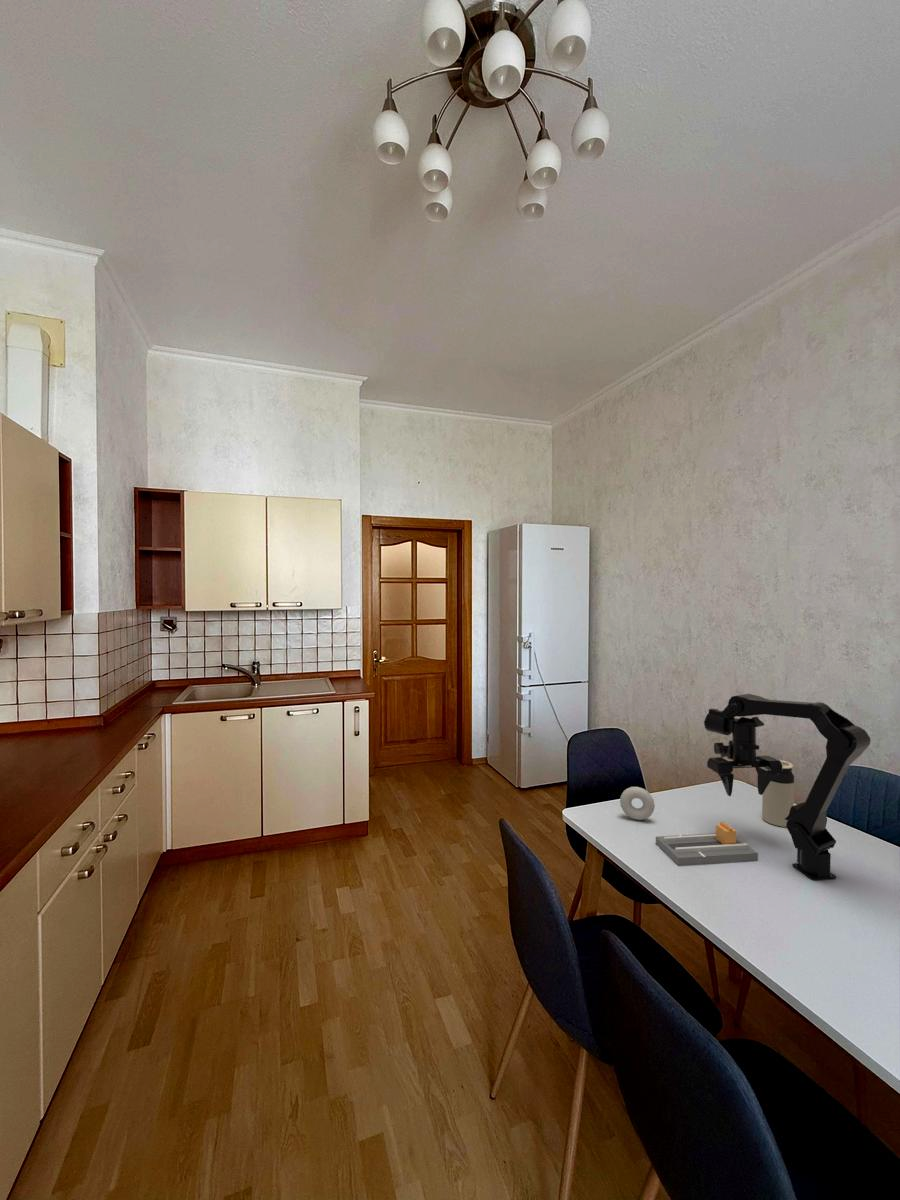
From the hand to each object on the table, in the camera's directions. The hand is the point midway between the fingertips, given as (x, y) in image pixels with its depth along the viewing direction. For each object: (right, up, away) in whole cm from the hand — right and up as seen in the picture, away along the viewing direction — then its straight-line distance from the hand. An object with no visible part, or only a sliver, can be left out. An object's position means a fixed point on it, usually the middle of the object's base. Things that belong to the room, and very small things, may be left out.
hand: (744, 795), depth 138 cm
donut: (-25, -13, +13) cm, 31 cm away
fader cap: (-8, -11, -5) cm, 14 cm away
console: (-14, -13, -6) cm, 20 cm away
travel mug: (+17, -13, +12) cm, 25 cm away
